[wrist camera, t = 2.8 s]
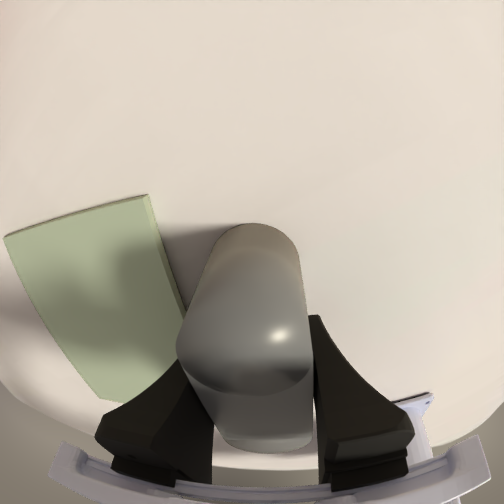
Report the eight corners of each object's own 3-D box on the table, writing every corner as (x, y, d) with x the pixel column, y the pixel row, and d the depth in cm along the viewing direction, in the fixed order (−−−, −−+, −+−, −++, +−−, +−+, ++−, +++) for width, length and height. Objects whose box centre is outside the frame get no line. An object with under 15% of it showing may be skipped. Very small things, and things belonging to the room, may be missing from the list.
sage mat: (226, 406, 18) (225, 413, 18) (101, 393, 20) (99, 398, 19) (148, 194, 11) (142, 198, 11) (8, 234, 13) (2, 238, 12)
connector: (307, 392, 17) (311, 463, 12) (249, 395, 17) (242, 465, 12) (295, 218, 11) (311, 300, 6) (201, 229, 12) (155, 311, 7)
